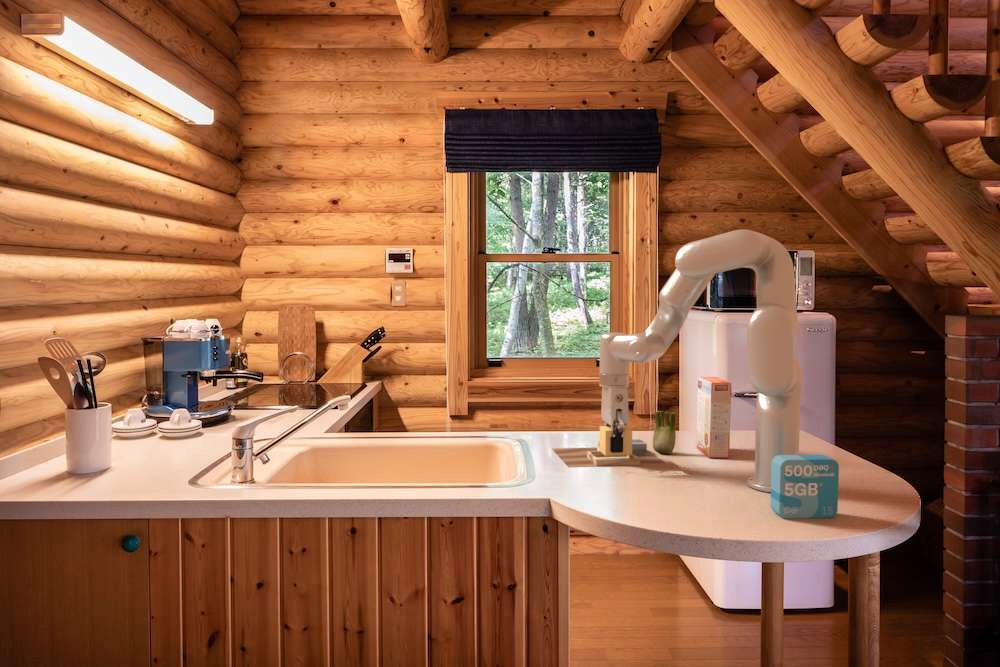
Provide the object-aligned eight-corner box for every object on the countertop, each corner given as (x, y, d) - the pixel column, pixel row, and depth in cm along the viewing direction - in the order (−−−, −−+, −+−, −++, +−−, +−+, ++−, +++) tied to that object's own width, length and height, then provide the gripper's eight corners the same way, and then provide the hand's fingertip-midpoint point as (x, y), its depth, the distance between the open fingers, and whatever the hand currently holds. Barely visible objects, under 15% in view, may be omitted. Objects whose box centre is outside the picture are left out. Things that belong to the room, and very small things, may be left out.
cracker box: (730, 458, 200) (732, 382, 199) (708, 458, 200) (710, 382, 199) (716, 447, 214) (718, 376, 213) (695, 447, 214) (697, 376, 213)
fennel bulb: (677, 454, 205) (678, 411, 204) (664, 456, 202) (665, 413, 202) (661, 450, 210) (662, 408, 209) (649, 452, 207) (650, 410, 206)
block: (632, 455, 189) (632, 429, 189) (605, 455, 188) (605, 430, 188) (625, 449, 195) (625, 425, 195) (599, 450, 194) (599, 426, 194)
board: (668, 469, 188) (668, 452, 187) (568, 471, 185) (568, 455, 184) (641, 450, 210) (641, 435, 209) (551, 452, 206) (551, 437, 206)
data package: (779, 519, 147) (780, 459, 147) (769, 512, 152) (771, 454, 151) (837, 518, 148) (839, 459, 147) (826, 511, 152) (828, 454, 152)
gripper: (638, 384, 182) (637, 456, 183) (618, 376, 199) (617, 442, 200) (608, 384, 181) (607, 457, 182) (591, 376, 198) (590, 442, 200)
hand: (613, 448), depth 191 cm, fingers closed on block, 6 cm apart
